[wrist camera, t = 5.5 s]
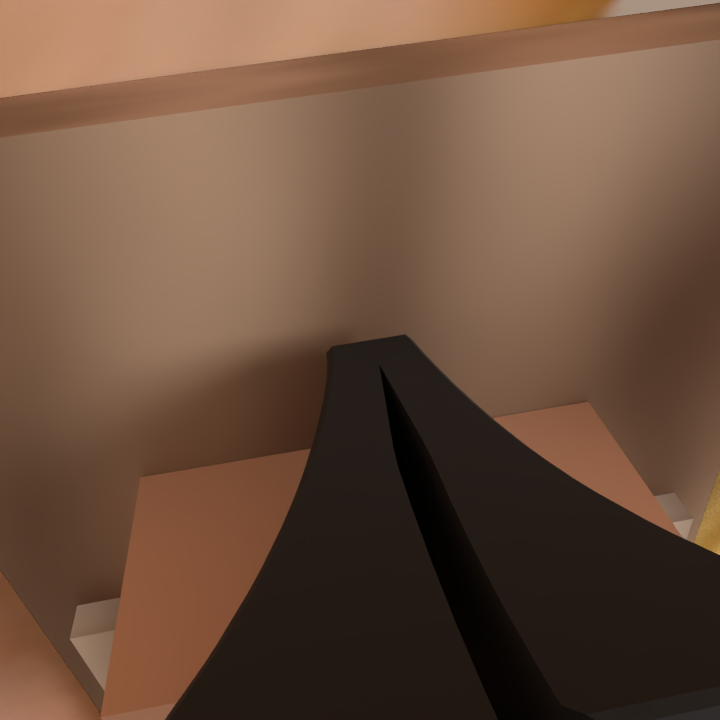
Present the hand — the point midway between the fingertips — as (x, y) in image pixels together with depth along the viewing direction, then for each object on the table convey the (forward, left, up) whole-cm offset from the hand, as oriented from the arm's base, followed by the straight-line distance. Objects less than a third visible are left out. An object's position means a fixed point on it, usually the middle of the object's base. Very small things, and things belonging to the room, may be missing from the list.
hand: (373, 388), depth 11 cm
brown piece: (0, +6, -3) cm, 7 cm away
